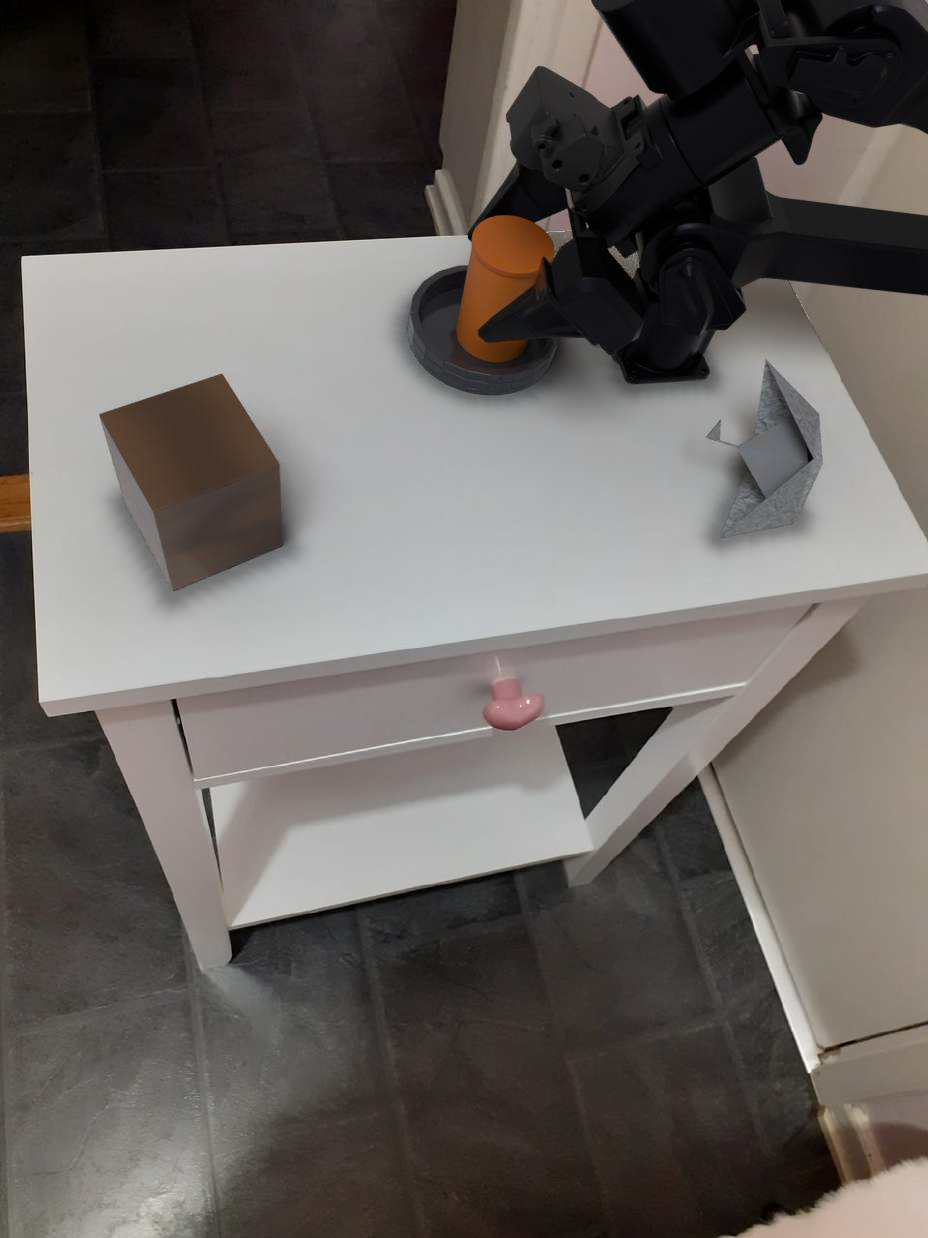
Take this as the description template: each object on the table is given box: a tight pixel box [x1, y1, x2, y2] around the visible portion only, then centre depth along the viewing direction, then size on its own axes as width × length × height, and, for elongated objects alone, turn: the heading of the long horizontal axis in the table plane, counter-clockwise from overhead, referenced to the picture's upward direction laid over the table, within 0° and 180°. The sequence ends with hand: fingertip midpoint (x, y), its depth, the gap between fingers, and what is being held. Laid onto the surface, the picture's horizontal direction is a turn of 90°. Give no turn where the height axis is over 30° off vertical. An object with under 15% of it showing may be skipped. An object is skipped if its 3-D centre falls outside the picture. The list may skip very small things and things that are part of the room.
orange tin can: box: [456, 215, 555, 363], centre depth 63 cm, size 5×5×8 cm
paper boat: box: [705, 359, 824, 539], centre depth 61 cm, size 12×6×9 cm
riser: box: [98, 373, 284, 592], centre depth 52 cm, size 7×7×8 cm
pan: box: [407, 264, 560, 396], centre depth 66 cm, size 11×11×2 cm
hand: (476, 287), depth 62 cm, fingers open, 9 cm apart
